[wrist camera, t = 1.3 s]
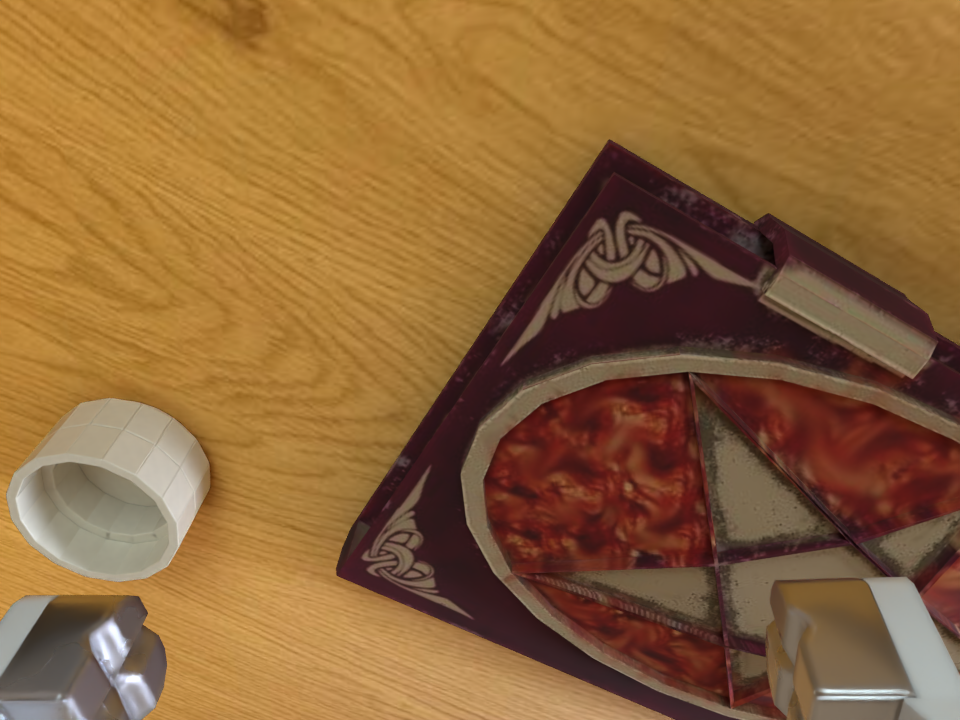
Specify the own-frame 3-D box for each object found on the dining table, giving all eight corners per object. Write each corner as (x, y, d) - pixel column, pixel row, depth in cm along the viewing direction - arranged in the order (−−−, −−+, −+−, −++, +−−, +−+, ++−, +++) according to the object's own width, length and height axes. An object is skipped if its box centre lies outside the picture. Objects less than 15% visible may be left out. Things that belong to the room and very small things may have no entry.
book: (348, 526, 36) (321, 618, 32) (621, 112, 25) (632, 172, 21) (850, 746, 42) (881, 849, 38) (1250, 491, 31) (1357, 596, 27)
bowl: (44, 469, 35) (-11, 536, 31) (86, 364, 32) (30, 426, 28) (184, 532, 36) (147, 603, 33) (237, 438, 33) (202, 505, 30)
